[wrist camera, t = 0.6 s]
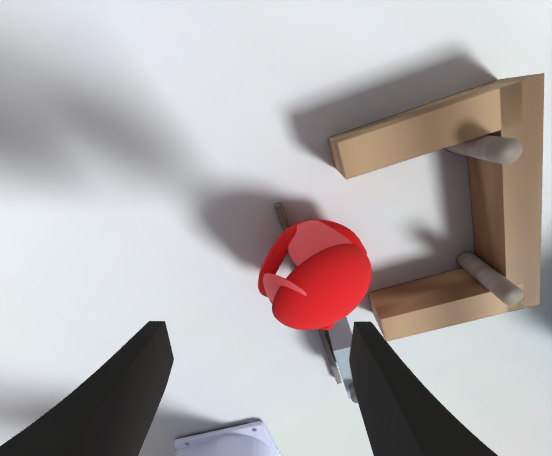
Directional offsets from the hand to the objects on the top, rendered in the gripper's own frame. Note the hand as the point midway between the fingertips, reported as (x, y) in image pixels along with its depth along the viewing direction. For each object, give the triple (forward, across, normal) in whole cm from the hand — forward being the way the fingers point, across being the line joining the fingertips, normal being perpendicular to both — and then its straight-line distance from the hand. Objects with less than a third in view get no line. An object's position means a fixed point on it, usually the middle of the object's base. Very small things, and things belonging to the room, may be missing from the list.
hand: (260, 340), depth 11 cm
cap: (+9, -3, +2) cm, 10 cm away
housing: (+10, -9, +3) cm, 14 cm away
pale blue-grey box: (+9, -6, +10) cm, 15 cm away
